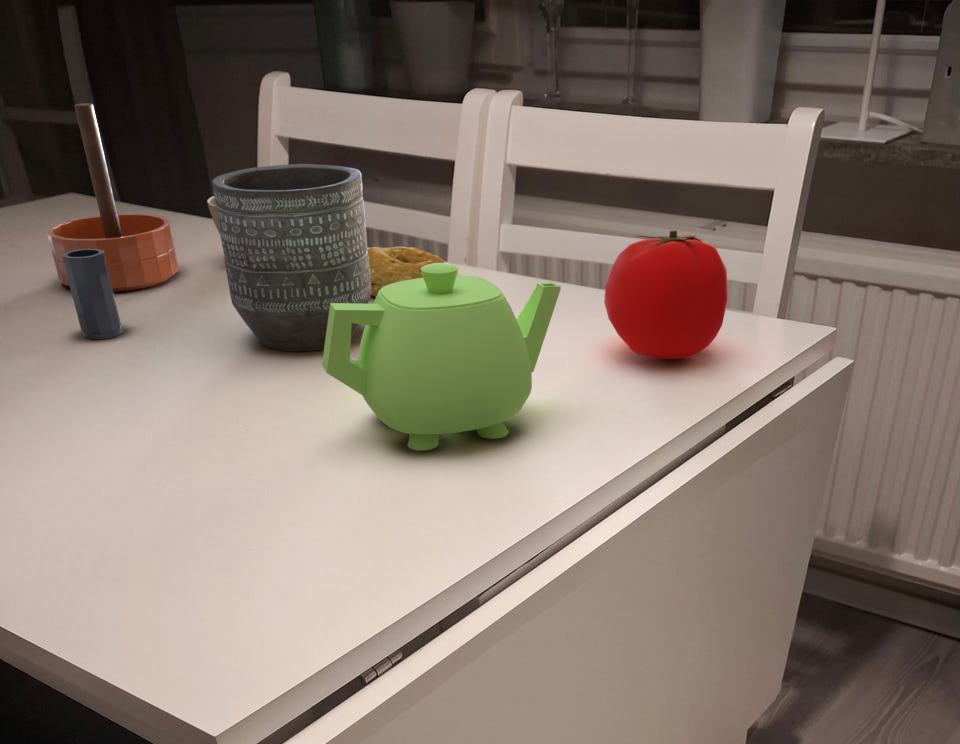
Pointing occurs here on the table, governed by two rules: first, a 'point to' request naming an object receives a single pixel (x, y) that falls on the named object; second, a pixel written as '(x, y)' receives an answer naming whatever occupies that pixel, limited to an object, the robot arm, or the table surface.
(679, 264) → the tomato
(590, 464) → the table surface
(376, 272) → the bagel
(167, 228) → the bowl
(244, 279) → the planter
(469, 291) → the teapot
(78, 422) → the table surface
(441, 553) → the table surface
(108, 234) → the stick
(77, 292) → the tube
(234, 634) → the table surface
